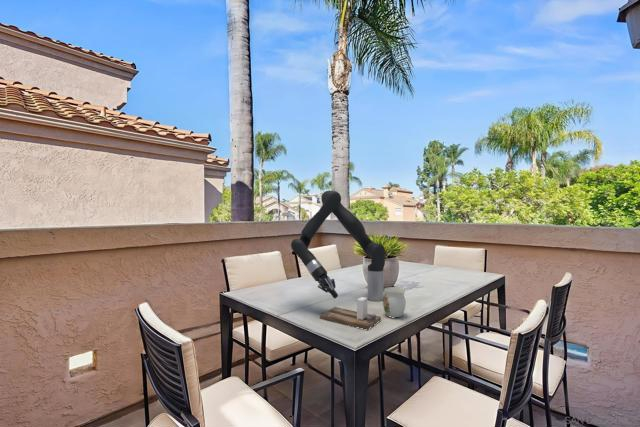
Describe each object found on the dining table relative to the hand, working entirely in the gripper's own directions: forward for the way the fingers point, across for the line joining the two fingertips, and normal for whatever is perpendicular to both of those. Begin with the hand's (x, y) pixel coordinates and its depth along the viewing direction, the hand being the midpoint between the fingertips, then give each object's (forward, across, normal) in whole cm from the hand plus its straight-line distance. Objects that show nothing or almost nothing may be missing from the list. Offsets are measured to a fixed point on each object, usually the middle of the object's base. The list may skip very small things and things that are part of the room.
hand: (336, 297), depth 155 cm
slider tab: (+15, 0, -5) cm, 16 cm away
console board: (+12, 0, +2) cm, 12 cm away
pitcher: (+23, +18, -9) cm, 31 cm away
